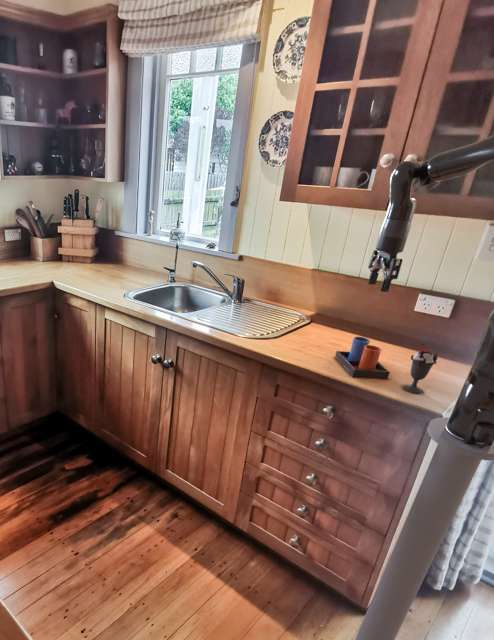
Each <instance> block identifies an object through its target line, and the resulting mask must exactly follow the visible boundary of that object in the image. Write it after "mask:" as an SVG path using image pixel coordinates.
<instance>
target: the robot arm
mask: <svg viewBox="0 0 494 640" xmlns="http://www.w3.org/2000/svg"><path fill="white" fill-rule="evenodd" d="M493 161H494V134H492V135H491V136H488V137H485V138H483V139H480V140H478V141H475V142H473V143H470V144H466V145H464V146H460V147H456V148H453V149H449V150H446V151H443V152H440V153H437V154H435V155H433V156H432V157H431V158H430V159H427V160H422V161H419V160H404V161H401V162H399V163H398V164H397V165H396V166H395V167H394V169H393V170H392V172H391V174H390V179H389V191H388V199H389V202H388V206H387V208H386V209H387V210H386V213H385V216H384V219H383V222H382V224H381V227H380V230H379V234H378V237H377V240H376V244H375V249H374V250H373V251H372V254H371V257H370V260H369V263H368V266H367V269H369V271H370V274H369V277H368V281H367V284H368V285H371V286H372V285H376V284H377V280H378V277H379V274H380V271H381V272H382V274H383V279H382V282H381V286H380V289H379V291H380V292H382V293H383V292H384V293H388V292H389V291H390V288H391V284H392V281H393V280H397V279H398V278H399V274H400V271H401V268H402V263H403V258H398V254H402V253H403V252H404V249H405V247H406V243H407V240H408V237H409V233H410V230H411V226H412V220H413V218H414V214H415V211H416V208H417V203H418V202H417V200H416V199H415V198H414V197H412V196H411V195H412V189H421V188H424V187H428V186H430V185H433V184H436V183H438V182H441V181H446V180H447V181H448V180H450V179H456V178H459V177H463V176H466V175H469V174H471V173H473V172H475V171H477V170H479V169H481V167H483V166H485V165H486V164H488V163H490V162H493ZM449 418H450V419H448V423H447V425H446V427H445V430H446V431H447V433H449V434H450V435H451V436H453V437H454V438H456V439H458V440H461V441H463V442H464V443H465V444H470V445H480V446H479V448H481V449H482V448H483V447H485V446H491V445H492V443H493V441H494V309H493V310H492V311H491V312H490V314H489V315H488V317H487V320H486V321H485V324H484V327H483V329H482V332H481V336H480V339H479V342H478V345H477V347H476V350H475V352H474V358H473V362H472V365H471V367H470V368H469V371H468V374H467V377H466V378H465V381H464V383H463V386H462V388H461V390H460V393H459V395H458V397H457V400H456V402H455V405H454V407H453V409H452V411H451V414H450V416H449Z"/></svg>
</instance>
